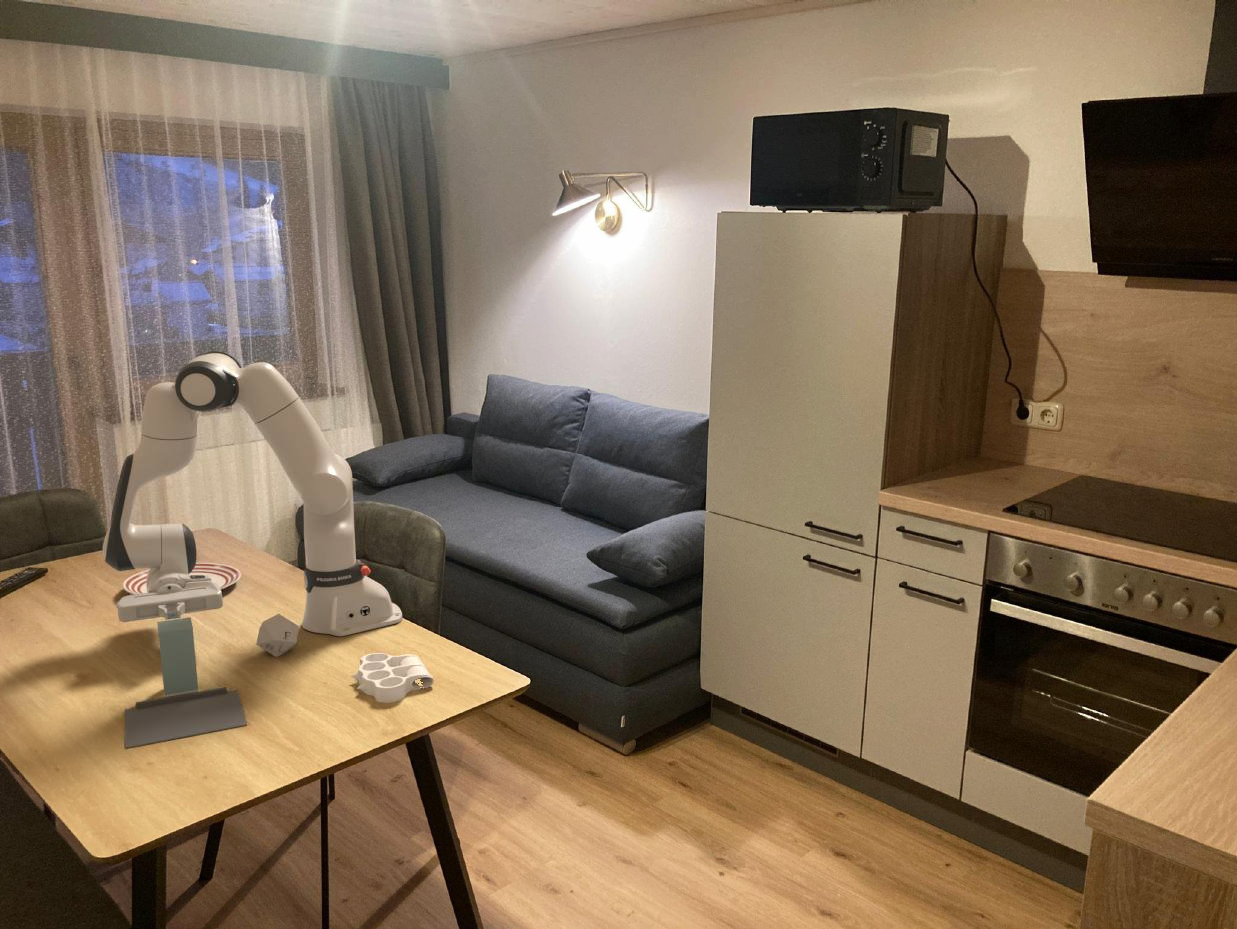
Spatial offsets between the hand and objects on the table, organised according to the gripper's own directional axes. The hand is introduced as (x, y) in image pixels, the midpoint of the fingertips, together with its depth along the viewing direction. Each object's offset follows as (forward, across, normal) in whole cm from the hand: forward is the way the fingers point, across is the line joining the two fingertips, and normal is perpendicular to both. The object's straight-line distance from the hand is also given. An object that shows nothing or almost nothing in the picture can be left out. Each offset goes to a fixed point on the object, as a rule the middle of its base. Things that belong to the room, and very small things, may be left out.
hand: (172, 615), depth 203 cm
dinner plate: (-49, +4, +11) cm, 51 cm away
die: (+2, +20, +11) cm, 23 cm away
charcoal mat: (+26, 0, +11) cm, 28 cm away
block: (+14, 0, +11) cm, 18 cm away
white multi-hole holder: (+27, +38, +12) cm, 48 cm away
